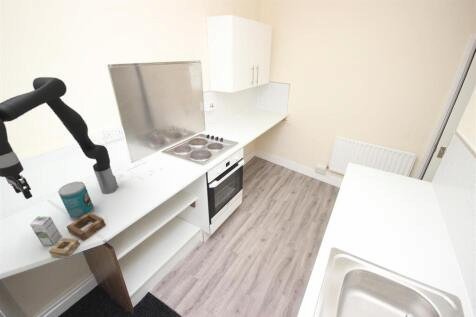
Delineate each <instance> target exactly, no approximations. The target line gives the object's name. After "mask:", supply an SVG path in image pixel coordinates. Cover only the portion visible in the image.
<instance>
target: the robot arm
mask: <svg viewBox="0 0 476 317" xmlns="http://www.w3.org/2000/svg"><path fill="white" fill-rule="evenodd" d="M32 87H33V89H34V90H32V91H29V92H26V93H21V94H18V95H15V96H13V97H10V98H8V99H6V100H3V101H2V102H0V177H1V178H5V180H6V181H7V184H8V185H10V186H11V187H12V189H14V191H15V193H16V194H20V193H22V195H23V197H24V199H26V200H29V199H31V198H32V197H33V195H32V193H31V190H32V188H31V186H30V184H29V183H28V181H27V178H25V177H24V176H23V175H22V174H21V173H22V172H24V166H23V164H22V163H21V161H20V159H19V157H18V155H17V153H15V151H14V149H13V148H12V146H11V144H10V143H9V139H8V138H9V137H8V132H7V127H6V124H5V123H6V122H12V121H15V120H17V119H18V118H20V117H21V116H23V115H25V114H27V113H28V112H30V111H32V110H33V109H35V108H37V107H40V106H42V105H44V104H46V105H47V106H48V107H49V108H50V109H51V110H52V112H53V113H54V114H55V115H56V116H57V118H58V119H59V120H60V122H61V123H62V125H63V126H64V127H65V128H66V130H67V131H68V132H69V133H70V134H71V136H72V138H73V139H74V140H75V142H77V144H78V145H79V148H80V149H81V151H82V152H83V154H84V155H85V157H86V158H88V159H91V160H95V161H96V162H95V163H94V164H93V165H92V169H93V171H94V175H95V177H96V179H97V182H98V186H99V188H100V192H101V193H102V194H105V195H106V194H107V195H108V194H112V193H115V192H116V191H117V189H118V188H119V185H118V181H117V178H116V175H114V174H113V171H112V167H111V159H110V158H111V157H110V155H109V151H108V148H107V147H106V146H105V145H102V144H95V143H94V142H93V140H91V138H90V137H89V129H88V128H89V127H88V125H87V122H86V121H85V120H84V118H83V116H81V114H80V113H78V112H77V111H76V110H74V108H72V107H71V106H69V105H68V104H67V103H65V102H64V101H63V99H61V98H62V97H63V96H65V95H66V93H67V84H66V83H65V81H63V80H62V79H60V78H57V77H53V76H49V77H48V76H46V77H45V76H40V77H36V78H34V79H33V81H32Z"/></svg>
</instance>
